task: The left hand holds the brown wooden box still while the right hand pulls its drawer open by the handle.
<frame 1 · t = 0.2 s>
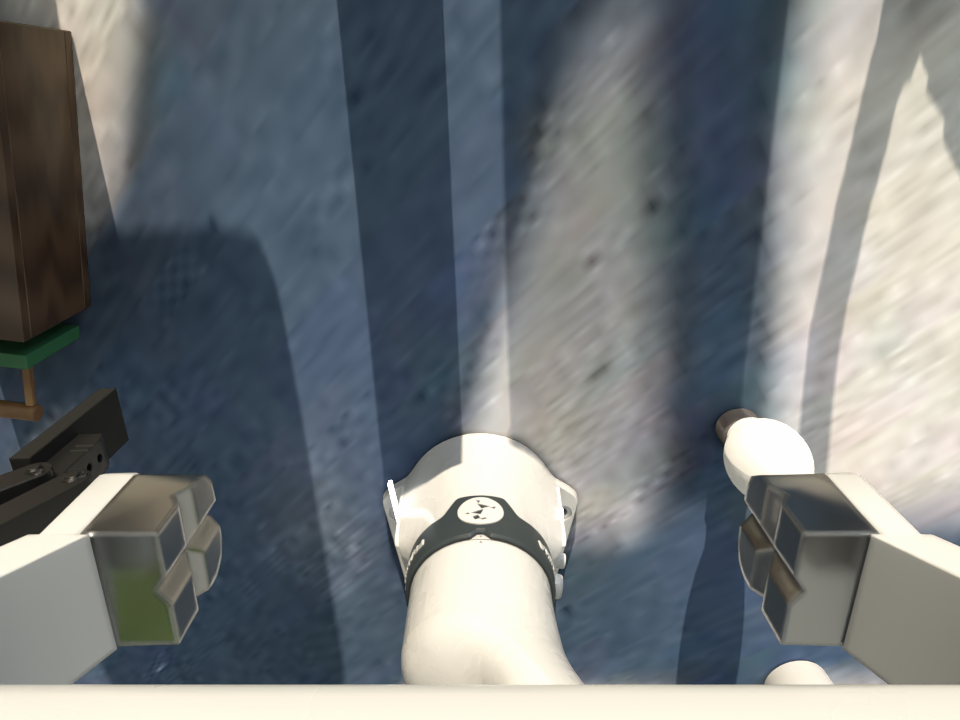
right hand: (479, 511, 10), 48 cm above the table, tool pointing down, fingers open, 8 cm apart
coffee cup: (794, 682, 75), on the table
brown wooden box: (17, 169, 55), on the table
light bulb: (738, 423, 63), on the table
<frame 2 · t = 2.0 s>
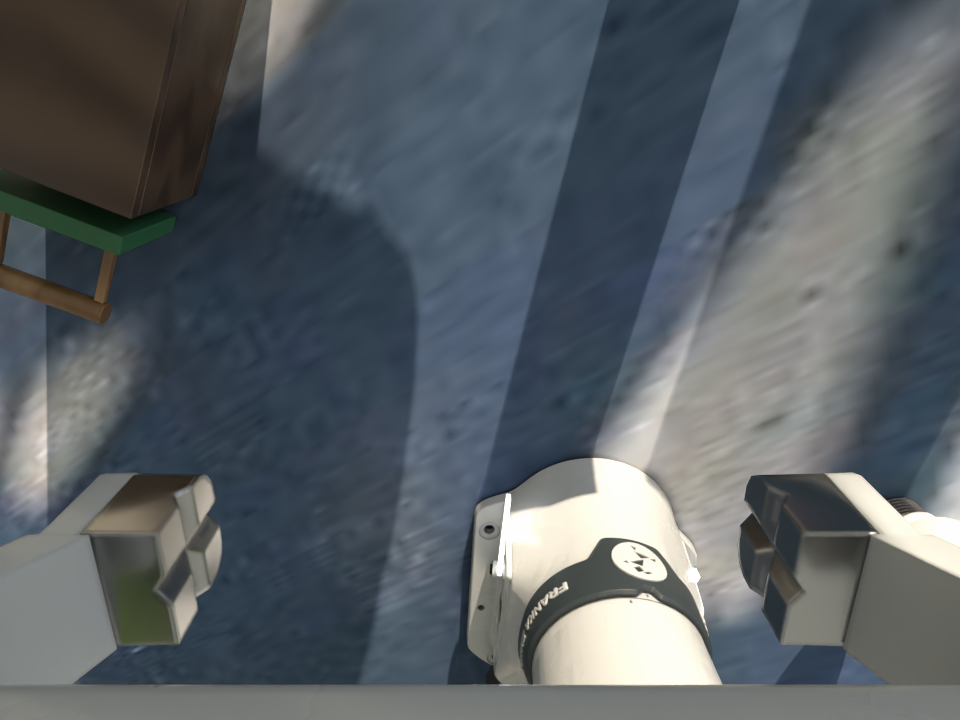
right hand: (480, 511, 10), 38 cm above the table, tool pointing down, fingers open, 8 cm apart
drawer: (99, 94, 39), point 5 cm above the table, slide at 1.5 cm
light bulb: (896, 514, 55), on the table
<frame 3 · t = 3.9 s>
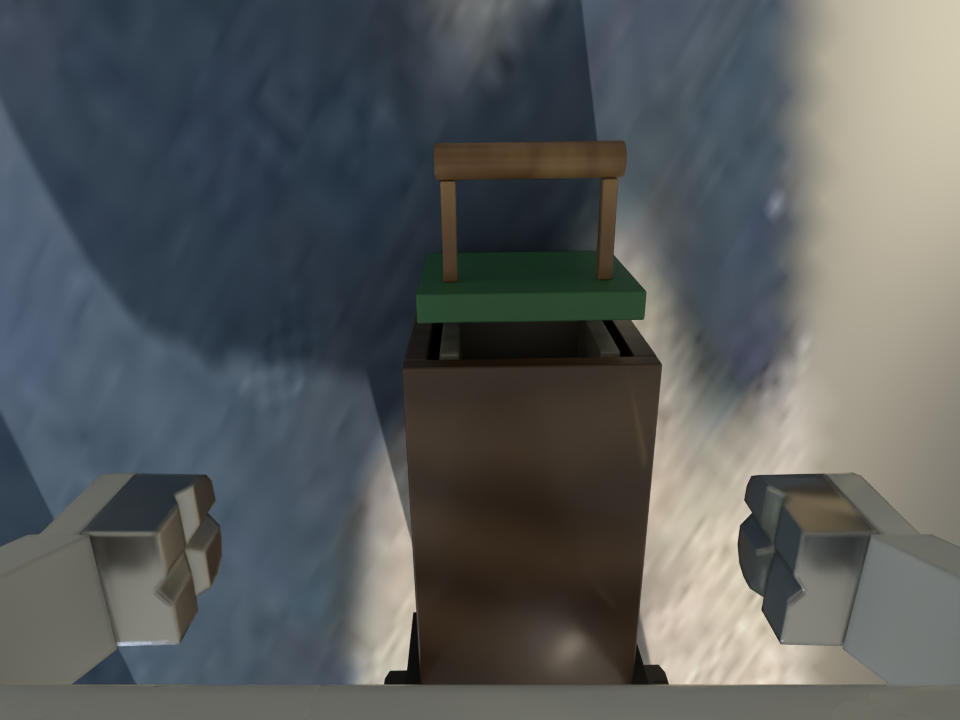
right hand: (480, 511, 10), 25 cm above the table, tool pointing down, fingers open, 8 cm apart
drawer: (522, 423, 33), point 5 cm above the table, slide at 1.5 cm
brown wooden box: (515, 480, 39), on the table, touching left hand
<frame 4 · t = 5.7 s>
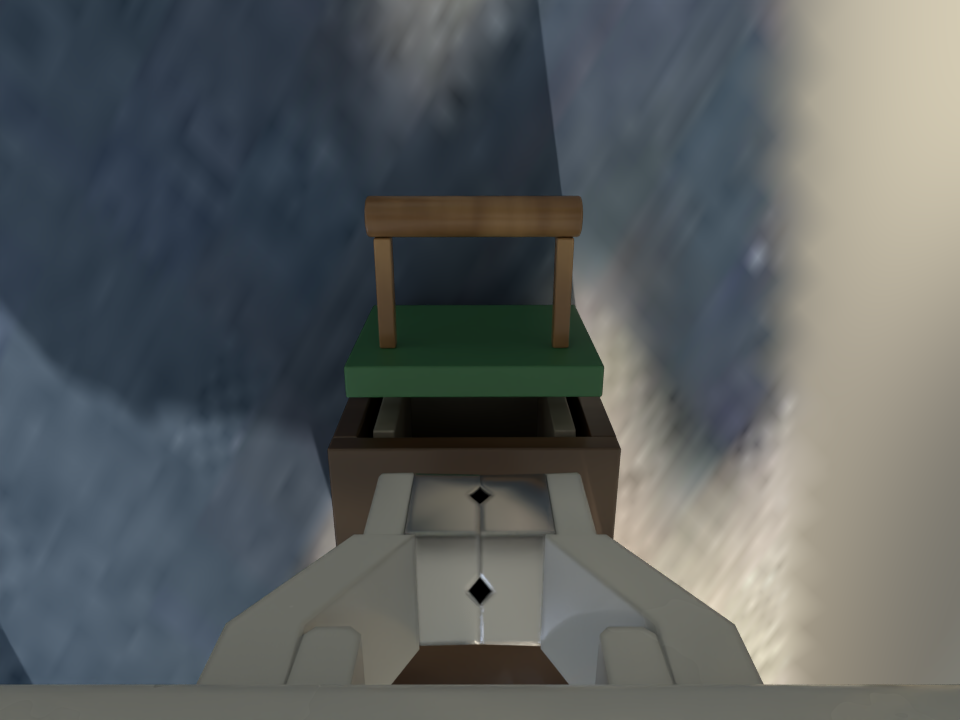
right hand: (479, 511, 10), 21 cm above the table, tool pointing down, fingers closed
drawer: (474, 495, 30), point 5 cm above the table, slide at 1.5 cm
brown wooden box: (474, 544, 36), on the table, touching left hand
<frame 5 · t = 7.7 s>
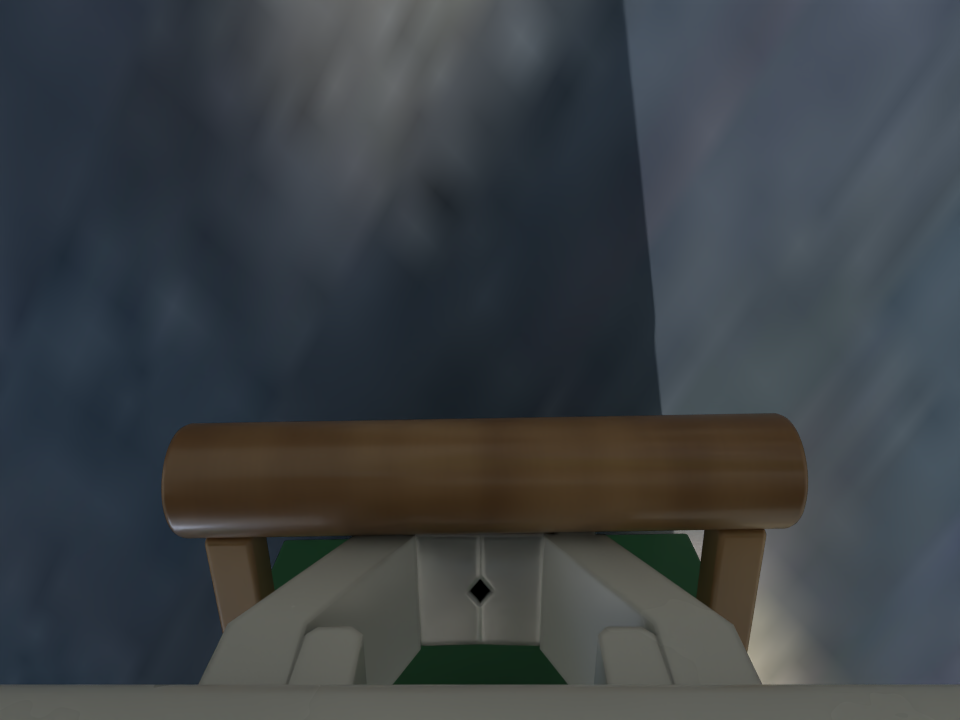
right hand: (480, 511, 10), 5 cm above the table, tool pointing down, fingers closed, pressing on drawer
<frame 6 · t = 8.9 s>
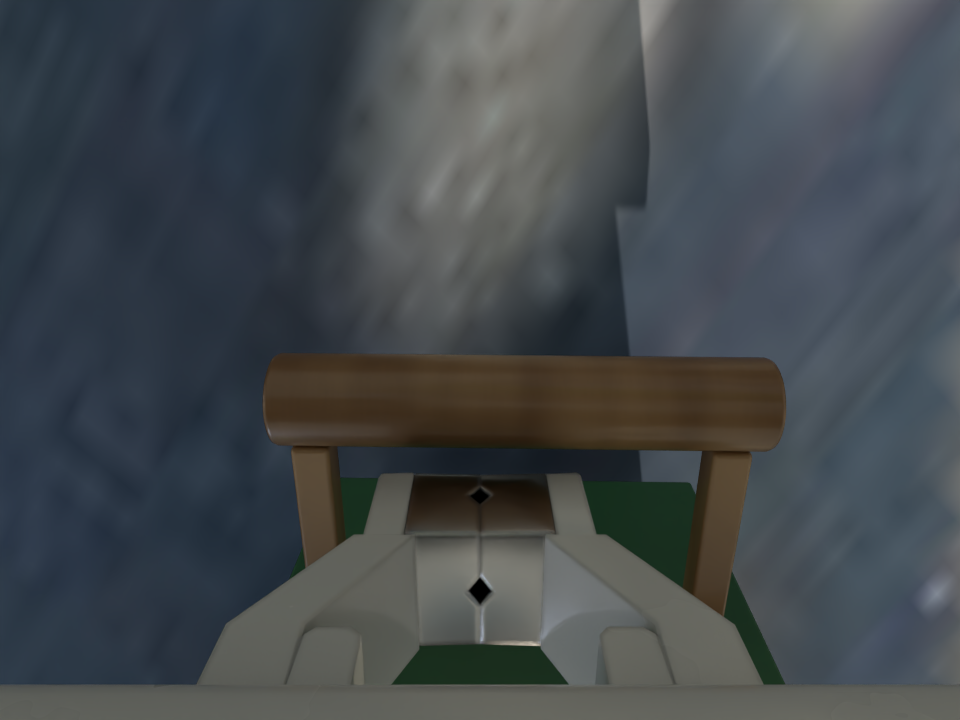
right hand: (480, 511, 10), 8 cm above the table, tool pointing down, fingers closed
when the left hand's fingers open (4 cm above the table, at t = 10.1 s): brown wooden box stays where it is, on the table.
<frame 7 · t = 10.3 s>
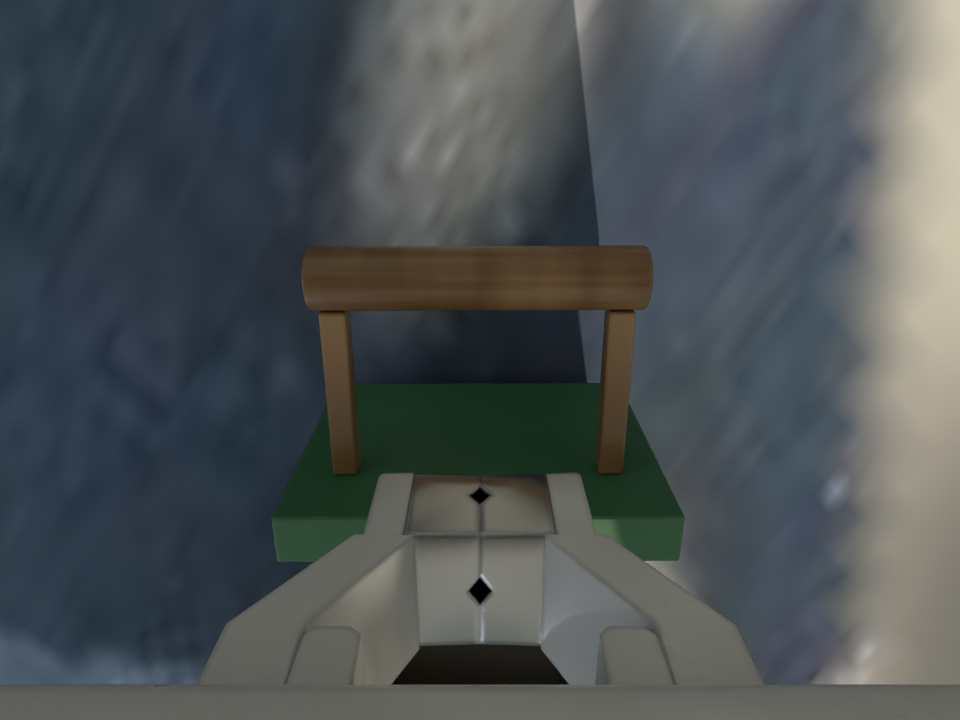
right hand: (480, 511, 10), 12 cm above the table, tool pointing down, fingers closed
drawer: (478, 654, 21), point 5 cm above the table, slide at 7.9 cm
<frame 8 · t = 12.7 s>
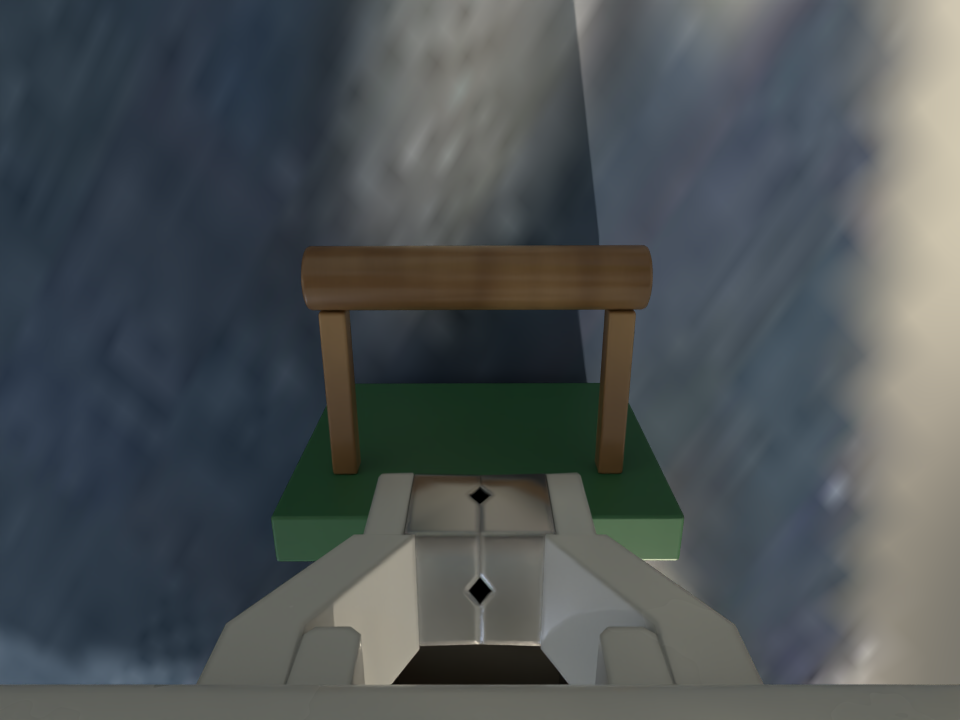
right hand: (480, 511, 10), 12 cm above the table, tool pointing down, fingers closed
drawer: (478, 654, 21), point 5 cm above the table, slide at 7.9 cm
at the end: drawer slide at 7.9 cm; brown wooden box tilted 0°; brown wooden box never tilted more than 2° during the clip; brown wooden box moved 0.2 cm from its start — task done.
